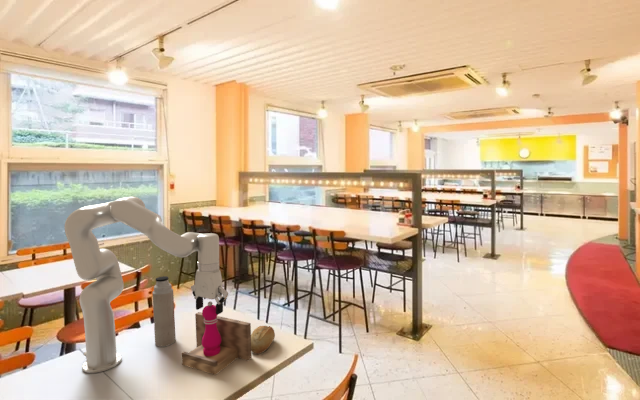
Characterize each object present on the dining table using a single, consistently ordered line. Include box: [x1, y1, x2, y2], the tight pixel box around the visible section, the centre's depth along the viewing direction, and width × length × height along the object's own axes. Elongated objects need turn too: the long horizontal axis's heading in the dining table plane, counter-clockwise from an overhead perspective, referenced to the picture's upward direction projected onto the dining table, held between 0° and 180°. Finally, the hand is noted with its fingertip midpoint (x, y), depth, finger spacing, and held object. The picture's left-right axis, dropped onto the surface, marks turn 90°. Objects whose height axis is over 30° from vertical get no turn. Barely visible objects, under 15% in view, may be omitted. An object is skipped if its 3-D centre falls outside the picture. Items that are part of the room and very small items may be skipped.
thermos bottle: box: [152, 275, 177, 348], centre depth 148 cm, size 8×8×28 cm
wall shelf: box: [181, 311, 252, 376], centre depth 135 cm, size 26×14×14 cm, turn 65°
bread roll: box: [251, 325, 276, 355], centre depth 145 cm, size 10×15×8 cm, turn 171°
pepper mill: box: [201, 301, 221, 356], centre depth 134 cm, size 7×7×20 cm
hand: (209, 310), depth 134 cm, fingers open, 9 cm apart
